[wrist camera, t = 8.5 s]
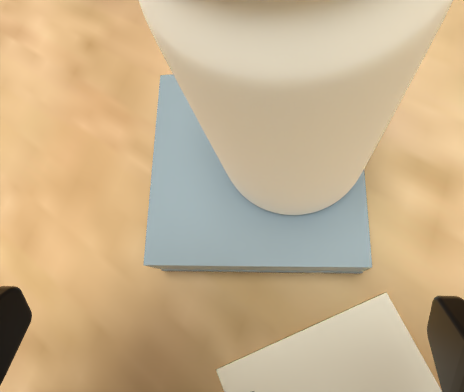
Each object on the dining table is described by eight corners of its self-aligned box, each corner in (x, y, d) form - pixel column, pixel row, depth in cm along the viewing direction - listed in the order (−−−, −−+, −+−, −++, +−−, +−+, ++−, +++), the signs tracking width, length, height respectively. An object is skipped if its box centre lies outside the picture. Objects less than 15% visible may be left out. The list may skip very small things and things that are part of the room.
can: (243, 80, 18) (160, -278, 7) (376, 100, 17) (547, -314, 5) (208, 200, 17) (31, -4, 5) (350, 233, 15) (508, 46, 4)
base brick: (360, 273, 18) (373, 268, 15) (164, 271, 19) (142, 266, 17) (347, 92, 20) (356, 58, 18) (176, 103, 22) (159, 74, 19)
